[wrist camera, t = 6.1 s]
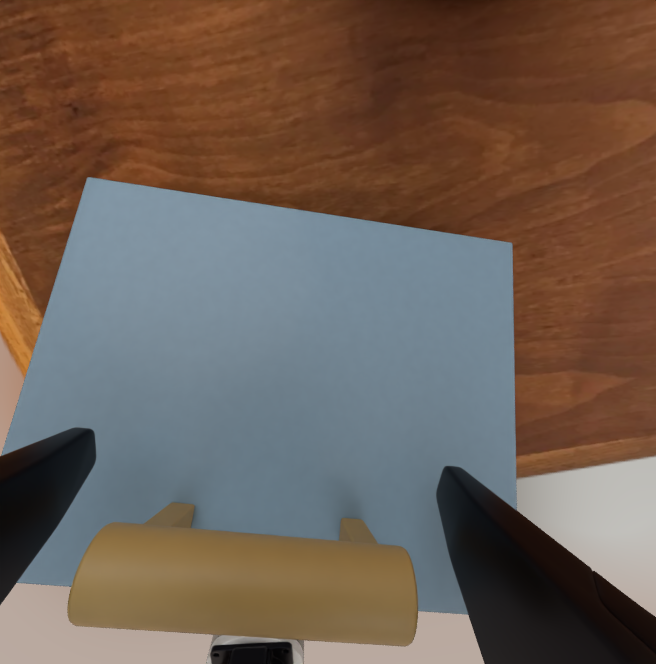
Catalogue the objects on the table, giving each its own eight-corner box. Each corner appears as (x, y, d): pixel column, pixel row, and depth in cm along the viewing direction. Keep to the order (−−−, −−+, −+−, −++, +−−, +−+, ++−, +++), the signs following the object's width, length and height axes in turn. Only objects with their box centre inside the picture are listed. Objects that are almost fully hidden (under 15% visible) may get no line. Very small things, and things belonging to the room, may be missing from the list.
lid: (503, 605, 11) (680, 765, 6) (-14, 567, 10) (-328, 728, 5) (500, 251, 14) (619, 161, 9) (99, 189, 13) (-27, 46, 8)
